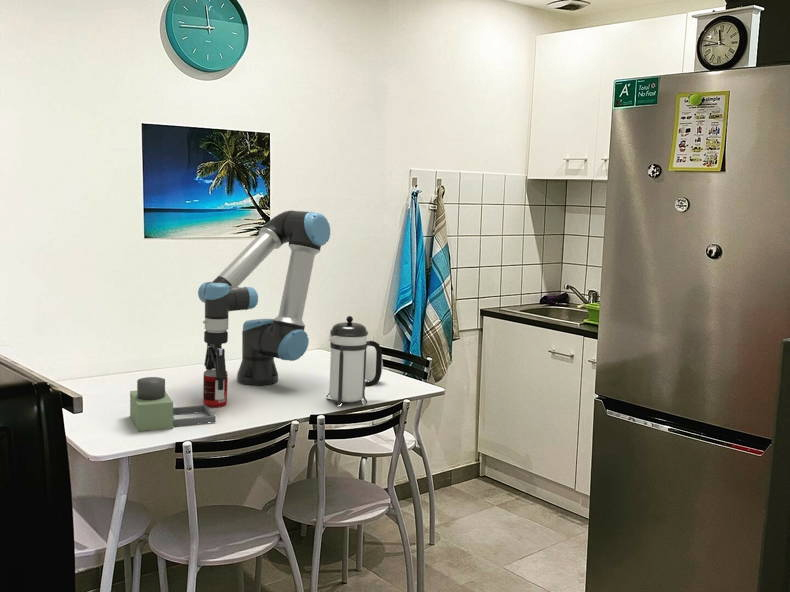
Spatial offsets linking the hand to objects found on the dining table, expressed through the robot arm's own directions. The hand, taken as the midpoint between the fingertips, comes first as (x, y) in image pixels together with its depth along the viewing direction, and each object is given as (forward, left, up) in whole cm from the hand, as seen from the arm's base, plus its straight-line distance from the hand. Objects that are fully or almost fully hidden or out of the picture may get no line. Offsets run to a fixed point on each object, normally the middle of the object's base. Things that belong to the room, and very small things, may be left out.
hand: (214, 394), depth 255 cm
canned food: (0, 0, -4) cm, 4 cm away
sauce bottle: (-62, -11, -4) cm, 63 cm away
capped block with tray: (+16, +13, -4) cm, 21 cm away
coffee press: (-44, +10, -4) cm, 45 cm away
